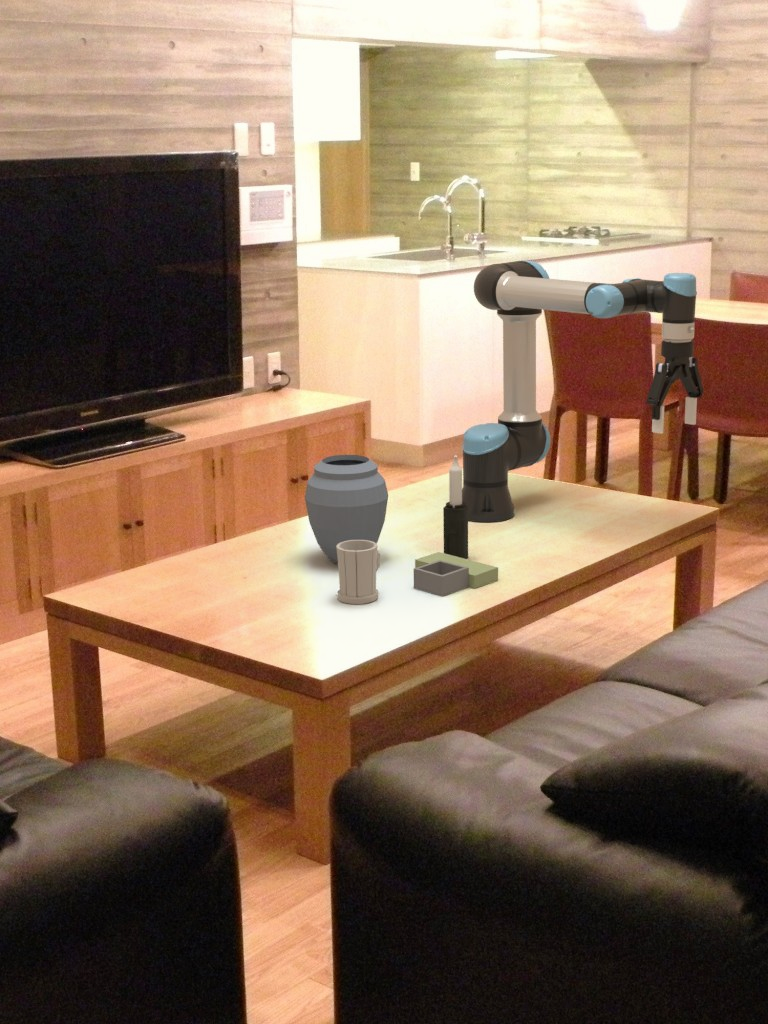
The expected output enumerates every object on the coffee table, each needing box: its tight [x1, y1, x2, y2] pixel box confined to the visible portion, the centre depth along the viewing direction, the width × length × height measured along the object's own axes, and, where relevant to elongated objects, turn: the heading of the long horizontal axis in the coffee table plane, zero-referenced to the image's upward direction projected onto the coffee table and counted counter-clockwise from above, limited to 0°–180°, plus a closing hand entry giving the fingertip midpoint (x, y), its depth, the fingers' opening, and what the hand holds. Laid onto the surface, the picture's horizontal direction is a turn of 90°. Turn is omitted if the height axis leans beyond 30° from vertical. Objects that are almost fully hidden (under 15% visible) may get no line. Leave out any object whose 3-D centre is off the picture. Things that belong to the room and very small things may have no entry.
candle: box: [442, 454, 469, 559], centre depth 323 cm, size 5×5×25 cm
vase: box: [304, 454, 389, 565], centre depth 323 cm, size 20×20×24 cm
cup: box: [336, 540, 381, 605], centre depth 298 cm, size 10×9×12 cm
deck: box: [413, 551, 499, 597], centre depth 310 cm, size 18×17×4 cm
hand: (674, 428), depth 331 cm, fingers open, 13 cm apart
